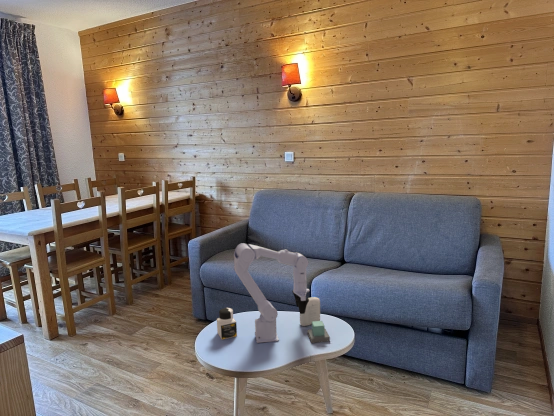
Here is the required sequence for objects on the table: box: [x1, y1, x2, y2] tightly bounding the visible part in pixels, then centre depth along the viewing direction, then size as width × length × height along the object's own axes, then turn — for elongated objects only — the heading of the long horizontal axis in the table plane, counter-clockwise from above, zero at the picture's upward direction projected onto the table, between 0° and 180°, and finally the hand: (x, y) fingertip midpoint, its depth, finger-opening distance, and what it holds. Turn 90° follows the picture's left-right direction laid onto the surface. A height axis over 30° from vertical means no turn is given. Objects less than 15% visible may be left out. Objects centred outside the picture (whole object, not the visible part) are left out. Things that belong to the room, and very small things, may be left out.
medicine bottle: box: [216, 307, 238, 341], centre depth 169 cm, size 7×7×12 cm
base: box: [306, 327, 331, 344], centre depth 165 cm, size 8×8×2 cm
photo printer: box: [299, 296, 321, 327], centre depth 178 cm, size 10×4×12 cm, turn 119°
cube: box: [311, 320, 325, 336], centre depth 165 cm, size 4×4×4 cm
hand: (300, 309), depth 170 cm, fingers open, 7 cm apart
